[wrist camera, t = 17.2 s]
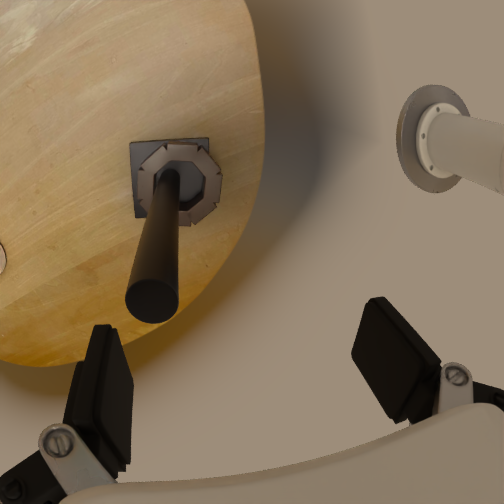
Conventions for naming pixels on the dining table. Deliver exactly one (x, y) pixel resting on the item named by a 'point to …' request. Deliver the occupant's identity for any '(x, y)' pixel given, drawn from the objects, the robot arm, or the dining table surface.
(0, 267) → the can
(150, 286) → the dark grey peg stand
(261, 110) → the dining table surface
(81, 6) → the dining table surface
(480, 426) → the robot arm
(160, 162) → the ring
